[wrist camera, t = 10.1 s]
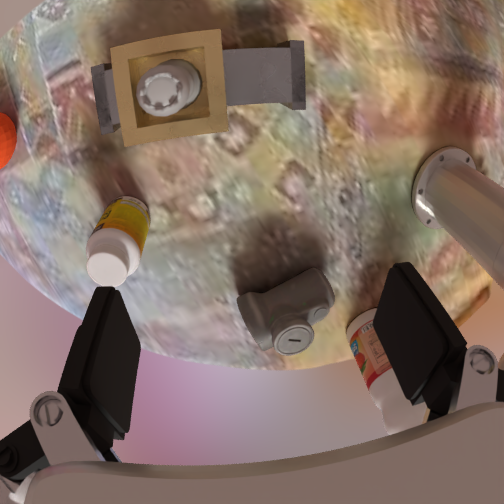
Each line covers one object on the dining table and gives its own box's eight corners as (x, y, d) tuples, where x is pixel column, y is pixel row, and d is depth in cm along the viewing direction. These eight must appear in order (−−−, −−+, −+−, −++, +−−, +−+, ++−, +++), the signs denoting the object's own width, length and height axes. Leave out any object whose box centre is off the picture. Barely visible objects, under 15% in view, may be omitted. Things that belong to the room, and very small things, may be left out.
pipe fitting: (253, 325, 46) (270, 376, 37) (229, 287, 42) (243, 339, 33) (324, 289, 45) (354, 333, 36) (308, 248, 41) (342, 289, 32)
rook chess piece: (212, 93, 22) (214, 104, 16) (164, 120, 23) (147, 143, 16) (186, 49, 20) (176, 40, 13) (138, 77, 20) (109, 83, 14)
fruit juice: (399, 317, 51) (467, 444, 29) (362, 347, 55) (415, 474, 32) (376, 298, 47) (454, 447, 24) (334, 332, 50) (391, 481, 28)
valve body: (288, 36, 24) (317, 28, 17) (291, 109, 29) (318, 125, 22) (107, 59, 23) (73, 59, 16) (117, 131, 28) (90, 154, 21)
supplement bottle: (117, 185, 31) (88, 233, 23) (159, 208, 33) (145, 261, 25) (99, 224, 33) (72, 278, 25) (139, 243, 36) (123, 302, 27)
